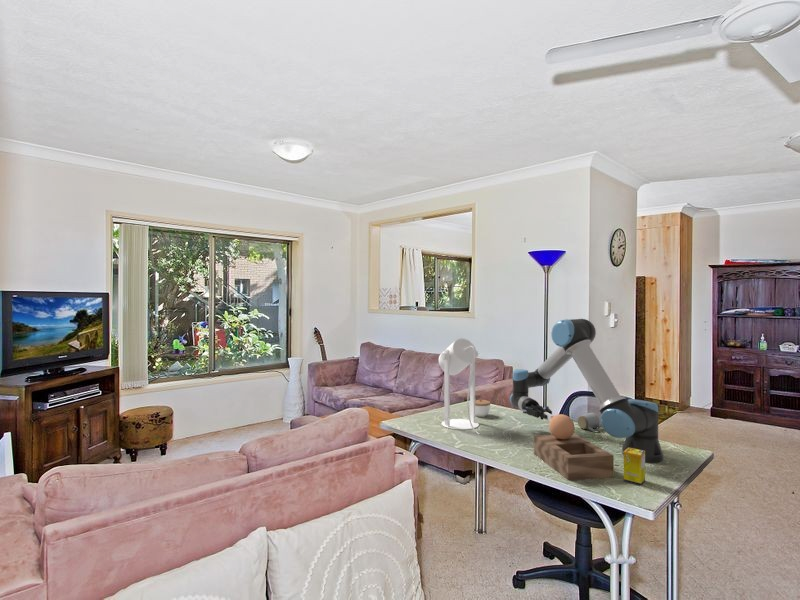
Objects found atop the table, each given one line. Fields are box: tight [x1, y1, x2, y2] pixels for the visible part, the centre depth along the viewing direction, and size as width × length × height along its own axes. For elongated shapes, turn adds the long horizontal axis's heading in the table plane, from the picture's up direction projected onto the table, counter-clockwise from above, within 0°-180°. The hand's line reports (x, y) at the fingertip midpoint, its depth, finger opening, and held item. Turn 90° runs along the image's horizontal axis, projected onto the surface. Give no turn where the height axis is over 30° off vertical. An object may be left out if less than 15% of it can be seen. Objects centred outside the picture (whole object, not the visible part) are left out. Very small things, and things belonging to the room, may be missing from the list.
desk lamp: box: [438, 337, 481, 435], centre depth 239 cm, size 21×32×45 cm, turn 28°
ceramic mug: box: [576, 412, 601, 432], centre depth 232 cm, size 11×8×8 cm
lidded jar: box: [475, 398, 491, 418], centre depth 260 cm, size 11×11×9 cm
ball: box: [548, 413, 576, 439], centre depth 192 cm, size 10×10×10 cm
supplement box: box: [623, 448, 646, 486], centre depth 168 cm, size 6×6×11 cm
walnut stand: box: [533, 432, 615, 481], centre depth 184 cm, size 28×18×8 cm, turn 9°
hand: (552, 419), depth 199 cm, fingers closed
